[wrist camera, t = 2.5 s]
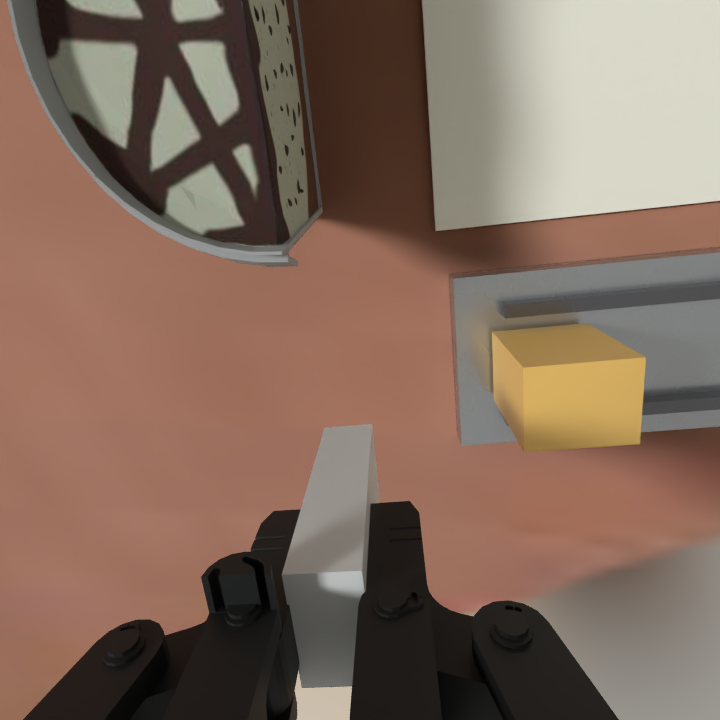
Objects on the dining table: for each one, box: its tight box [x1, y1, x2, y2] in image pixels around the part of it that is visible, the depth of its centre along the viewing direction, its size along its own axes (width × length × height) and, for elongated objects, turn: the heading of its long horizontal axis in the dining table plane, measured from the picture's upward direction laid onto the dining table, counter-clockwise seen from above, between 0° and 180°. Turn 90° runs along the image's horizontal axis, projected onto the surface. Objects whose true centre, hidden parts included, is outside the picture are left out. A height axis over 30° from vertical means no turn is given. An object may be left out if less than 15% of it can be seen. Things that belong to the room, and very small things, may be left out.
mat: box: [422, 0, 720, 231], centre depth 19 cm, size 14×18×1 cm
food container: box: [7, 0, 323, 267], centre depth 16 cm, size 12×6×10 cm, turn 6°
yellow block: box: [492, 323, 646, 452], centre depth 19 cm, size 3×4×5 cm
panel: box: [449, 247, 720, 445], centre depth 22 cm, size 8×15×2 cm, turn 96°
